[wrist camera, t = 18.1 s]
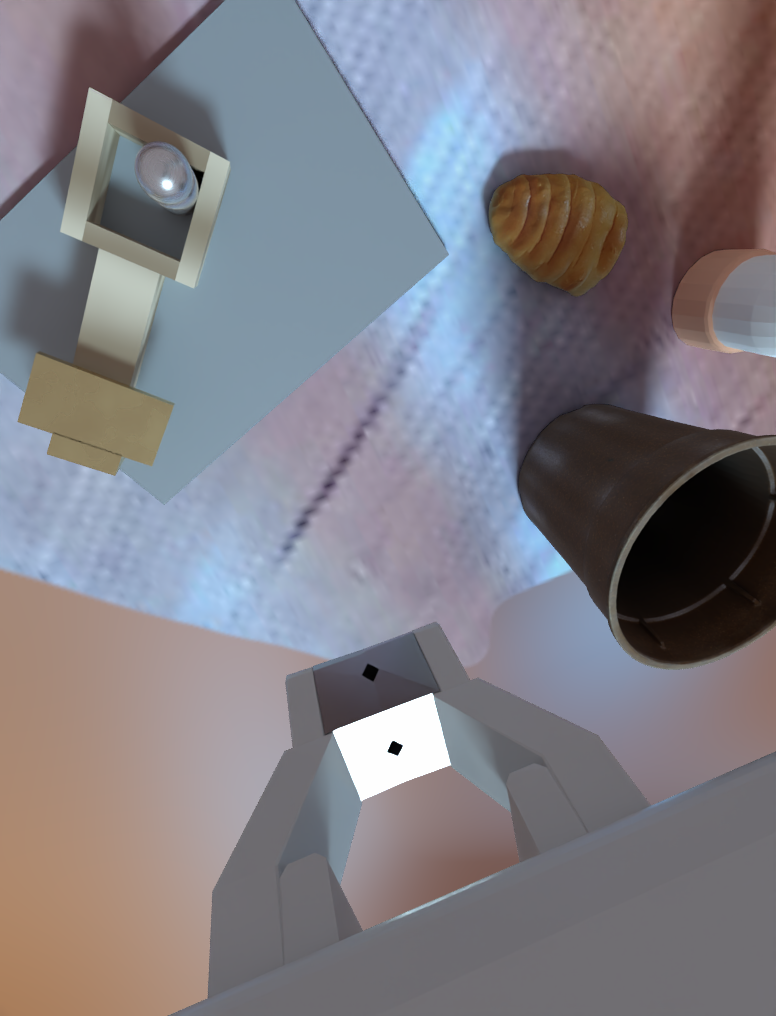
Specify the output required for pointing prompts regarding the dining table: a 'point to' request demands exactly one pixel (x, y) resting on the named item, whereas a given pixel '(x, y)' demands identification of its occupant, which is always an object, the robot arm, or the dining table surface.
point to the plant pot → (661, 528)
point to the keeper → (93, 415)
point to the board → (231, 236)
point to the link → (130, 239)
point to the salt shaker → (729, 302)
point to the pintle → (167, 177)
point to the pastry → (559, 229)
